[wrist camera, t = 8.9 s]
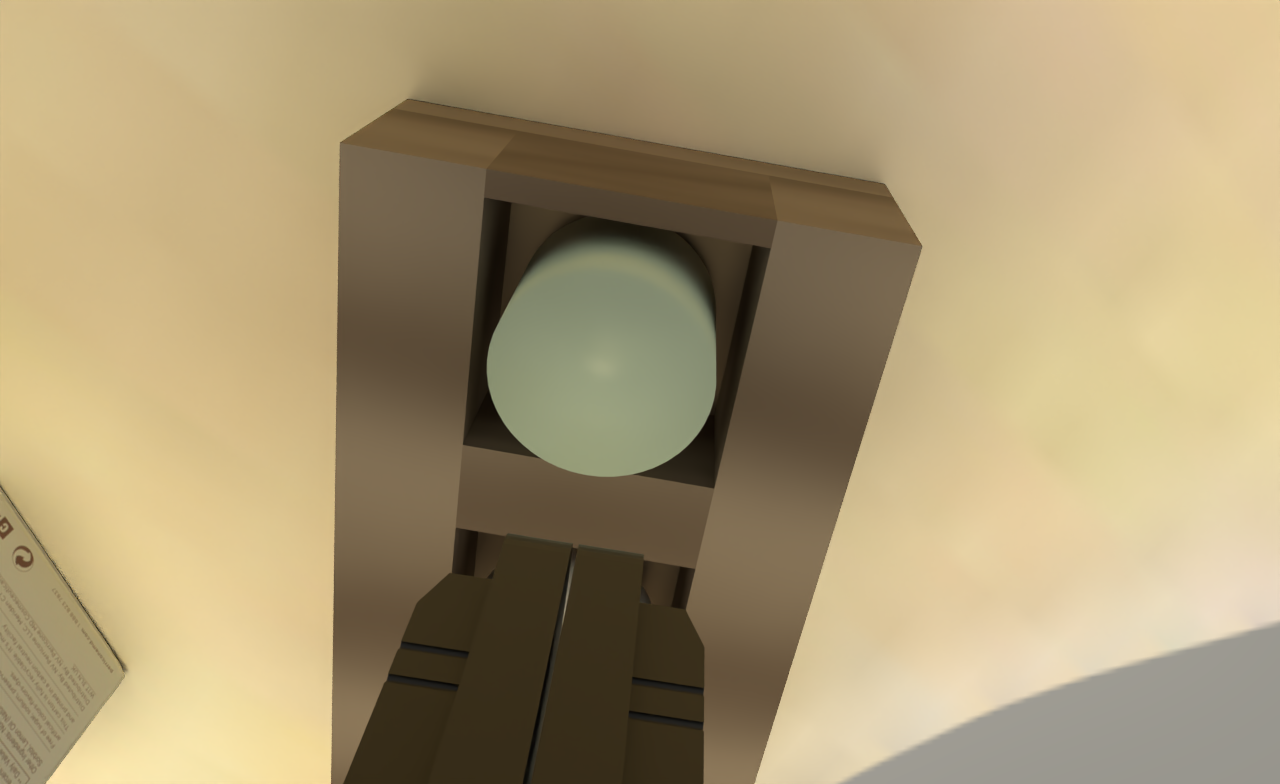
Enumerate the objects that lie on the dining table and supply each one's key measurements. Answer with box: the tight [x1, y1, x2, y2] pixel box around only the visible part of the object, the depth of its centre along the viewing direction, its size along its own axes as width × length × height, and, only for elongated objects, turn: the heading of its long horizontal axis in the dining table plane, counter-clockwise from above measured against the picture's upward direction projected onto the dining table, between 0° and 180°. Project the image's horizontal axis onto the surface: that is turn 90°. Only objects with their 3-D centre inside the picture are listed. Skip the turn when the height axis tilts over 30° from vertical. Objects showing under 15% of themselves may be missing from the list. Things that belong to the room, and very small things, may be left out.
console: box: [331, 99, 922, 784], centre depth 23 cm, size 20×10×4 cm, turn 171°
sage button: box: [487, 216, 716, 477], centre depth 18 cm, size 4×4×3 cm
